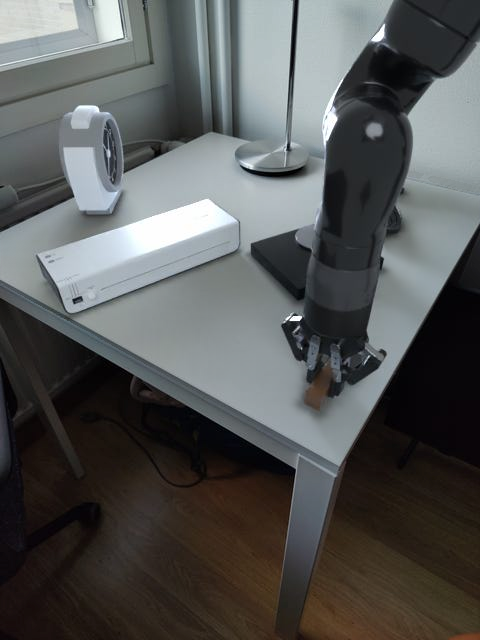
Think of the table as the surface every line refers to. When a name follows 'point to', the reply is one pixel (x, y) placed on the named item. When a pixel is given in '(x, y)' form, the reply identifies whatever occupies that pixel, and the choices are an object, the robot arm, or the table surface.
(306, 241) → the burner
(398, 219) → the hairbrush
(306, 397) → the spatula
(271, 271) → the hob
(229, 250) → the laminator
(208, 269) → the table surface
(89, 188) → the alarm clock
